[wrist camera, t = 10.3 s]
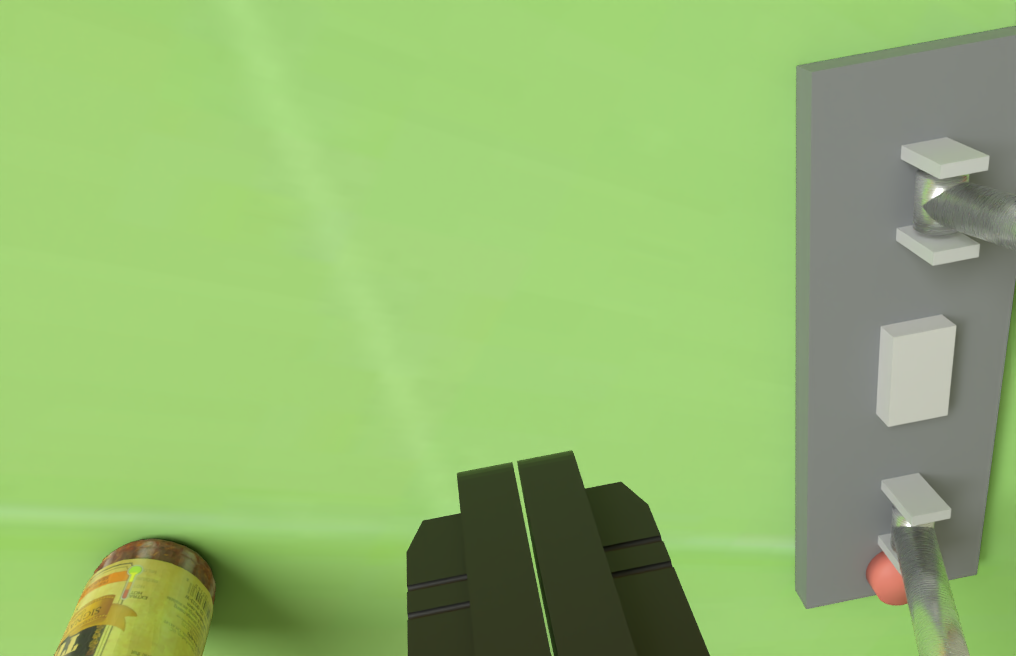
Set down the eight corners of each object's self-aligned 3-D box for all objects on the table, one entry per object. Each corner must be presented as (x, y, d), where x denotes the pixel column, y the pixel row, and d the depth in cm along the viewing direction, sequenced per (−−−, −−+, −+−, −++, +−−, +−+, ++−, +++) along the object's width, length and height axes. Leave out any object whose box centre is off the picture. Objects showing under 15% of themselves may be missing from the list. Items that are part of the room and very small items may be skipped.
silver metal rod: (871, 539, 47) (928, 844, 33) (873, 487, 45) (935, 784, 31) (943, 542, 46) (1034, 858, 32) (949, 489, 44) (1048, 797, 30)
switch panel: (795, 590, 50) (829, 650, 46) (796, 65, 36) (845, 86, 32) (961, 556, 50) (1010, 613, 46) (1025, 24, 37) (1101, 39, 33)
